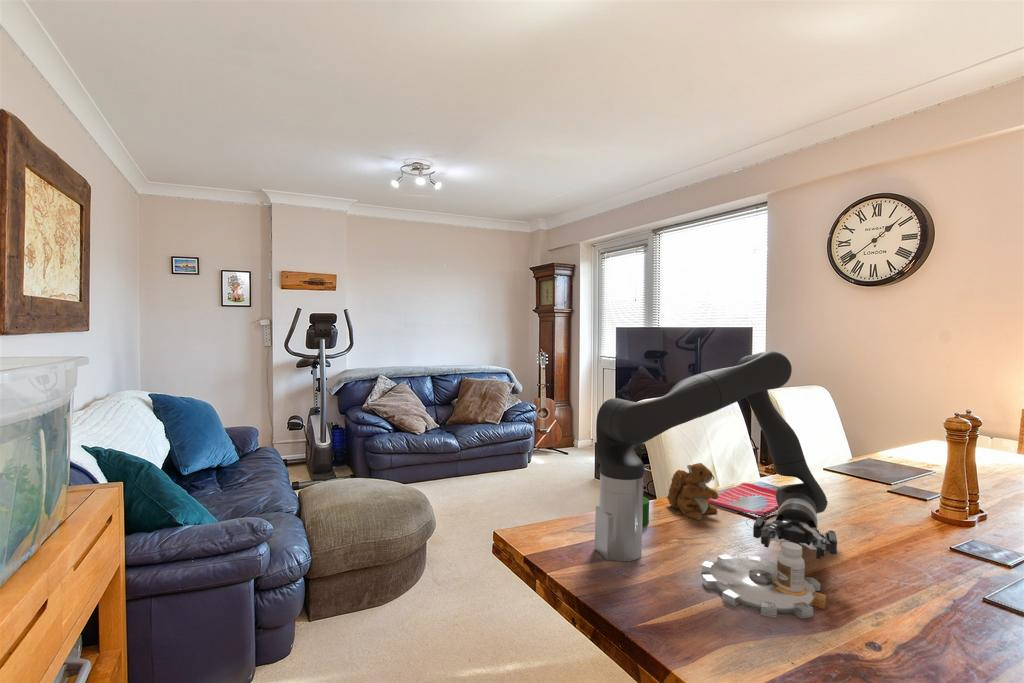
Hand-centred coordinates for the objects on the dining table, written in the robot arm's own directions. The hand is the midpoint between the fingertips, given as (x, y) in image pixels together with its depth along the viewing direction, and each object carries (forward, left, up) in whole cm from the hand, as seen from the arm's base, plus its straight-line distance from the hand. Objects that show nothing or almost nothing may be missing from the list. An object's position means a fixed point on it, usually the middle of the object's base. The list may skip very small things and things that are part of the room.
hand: (792, 547), depth 95 cm
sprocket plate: (-4, +3, -9) cm, 10 cm away
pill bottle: (-1, -1, -7) cm, 7 cm away
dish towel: (+30, +43, -9) cm, 53 cm away
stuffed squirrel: (+8, +42, -9) cm, 44 cm away
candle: (-11, +39, -9) cm, 42 cm away
